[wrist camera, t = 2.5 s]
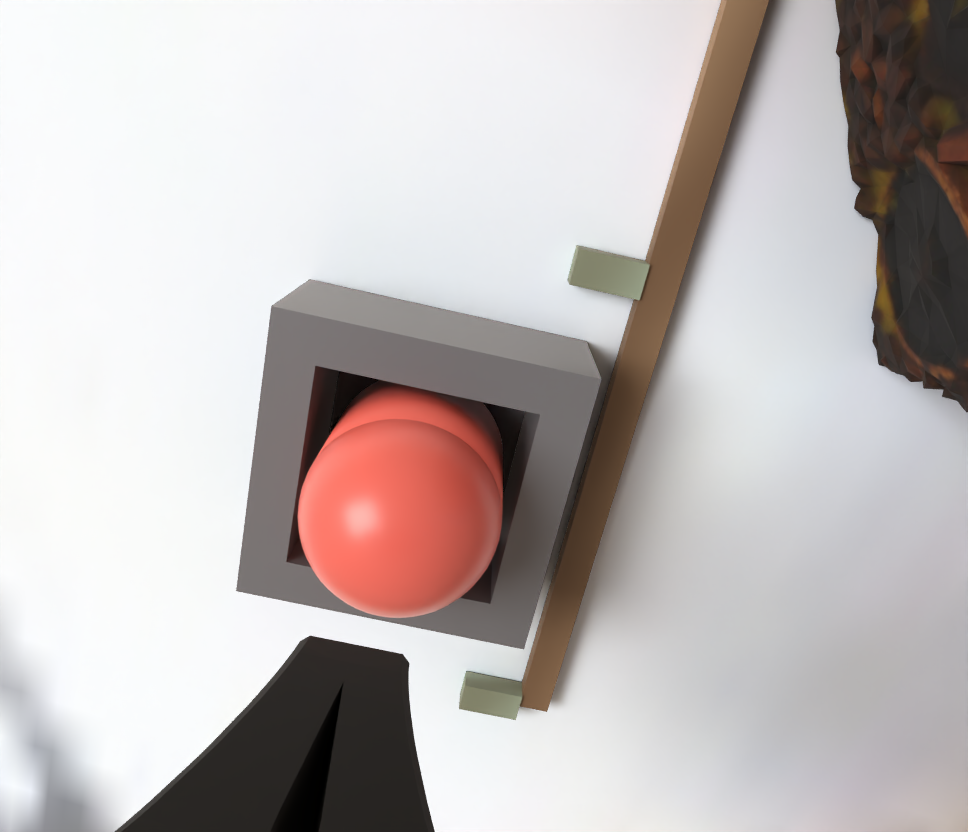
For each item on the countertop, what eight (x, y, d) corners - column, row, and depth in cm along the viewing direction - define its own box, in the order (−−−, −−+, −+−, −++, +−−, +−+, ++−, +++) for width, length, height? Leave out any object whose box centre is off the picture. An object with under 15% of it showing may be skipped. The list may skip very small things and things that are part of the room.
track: (1674, -197, 14) (1724, -212, 13) (1038, 808, 22) (1052, 826, 22) (757, -452, 13) (768, -479, 12) (460, 693, 21) (459, 708, 21)
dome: (520, 394, 17) (525, 489, 12) (482, 544, 18) (474, 681, 14) (347, 356, 17) (286, 438, 12) (322, 511, 18) (259, 638, 14)
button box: (586, 341, 18) (601, 379, 15) (521, 577, 20) (523, 649, 17) (309, 279, 17) (271, 305, 15) (275, 526, 20) (236, 590, 17)
